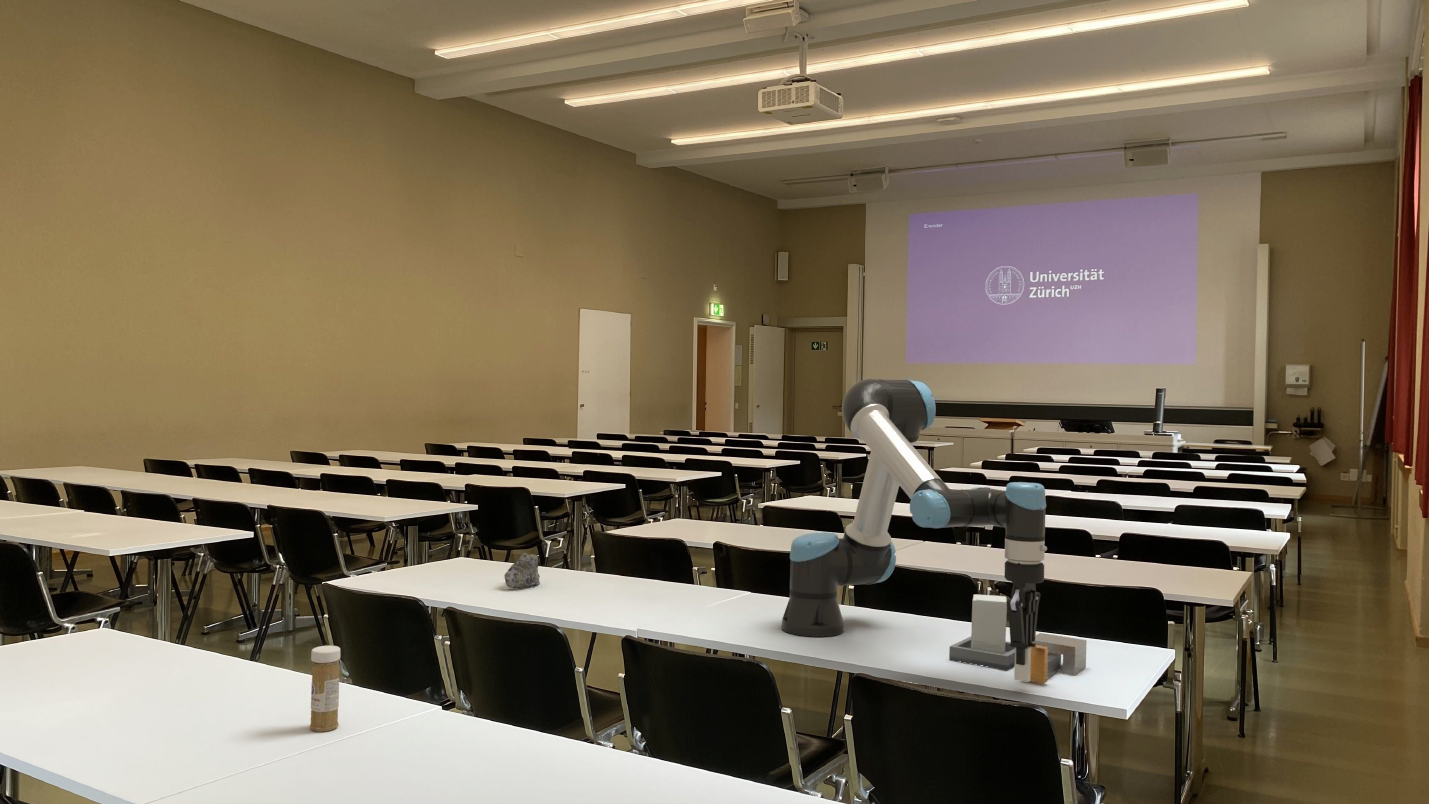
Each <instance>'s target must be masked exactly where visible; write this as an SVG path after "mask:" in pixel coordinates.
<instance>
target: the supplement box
mask: <svg viewBox="0 0 1429 804" xmlns="http://www.w3.org/2000/svg"><path fill="white" fill-rule="evenodd" d="M1007 600H1008V598H1007V596H1003V595H993V594H992V595H991V594H990V595H989V594H973V597H972V601H971V602H972V603H971V604H972V606H971V607H972V608H971V635H970V637H971V649H976V650H982V651H987V652H993V653H999V654H1005V643H1006V640H1007V639H1006V638H1007V611H1008V607H1007Z"/></svg>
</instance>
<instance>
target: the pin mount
mask: <svg viewBox="0 0 1429 804" xmlns="http://www.w3.org/2000/svg"><path fill="white" fill-rule="evenodd" d="M1087 642H1088V641H1087V639H1083V638H1081V639H1080V638H1074V637H1070V636H1069V637H1068V636H1061V635H1054V634H1050V633H1043V632H1039V633H1037V634H1036V635H1035V641H1034V642H1032V643H1035V644H1036V645H1039V646H1045V647H1048V652H1050V653H1056V654H1061V656H1062V674H1063V675H1067V676H1068V675H1069V676H1077V675H1078V674H1079V673H1081V672H1083V670H1085V669H1086V667H1087Z"/></svg>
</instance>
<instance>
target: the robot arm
mask: <svg viewBox="0 0 1429 804" xmlns="http://www.w3.org/2000/svg"><path fill="white" fill-rule="evenodd" d="M936 406H937V405H936V400H935V398H934V395H933V392H932V391H931V389H930V388H929V387H928V385H926V384H925V383H924V382H922V381H919V380H918V381H917V380H911V379H878V378H877V379H876V378H867V379H863V380H861V381H858V382H856V383H854V384H853V385H852V386H851V387H850V388H849V389H848V390H847V392H846V393H845V395H844V396H843V400H842V403H841V414H842V419H843V421H844V424H845V427H846V428H847V429H848V430H849V432H850V433H851V434H852V436H853V437H854V438H856V439H858V440H860V441H863V442H864V443H865V444H866V446H867V447H868V448H869V449H870V455H869V458H868V462H867V466H866V471H865V473H864V479H863V481H862V482H863V483H862V487H861V491H860V495H859V498H858V502H857V507H856V510H855V515H854V518H853V522H851V523H849V524H848V525H846V526H845V530H844V533H843V536H842V537H840V538H839V536H838V534H837V533H834V532H811V533H806V534H801V535H800V536H799V535H798V536H797V537H795V538H794V539H792V542H791V544H790V545H791V546H790V553H789V559H790V563H789V564H790V565H789V567H790V568H789V569H790V570H789V573H790V574H789V599H788V602H787V605H786V606H785V607H786V608H785V610H784V614H783V616H782V618H781V630H783V632H786V633H788V634H792V635H795V636H796V635H797V636H803V637H817V638H819V637H821V638H822V637H832V636H833V637H834V636H838V635H841V634H842V633H844V631H845V630H844V620H843V615H842V613H841V608H840V605H839V602H838V587H840V586H852V585H854V586H855V585H866V586H867V585H872V584H873V585H874V584H877V583H878V584H879V583H882V582H885V581H886V580H888V578H890V576H891V575H892V574H893V571H894V570H895V567H896V563H897V556H896V555H895V553H897V552H896V551H897V550H896V547H895V545H894V542H893V541H892V537H891V535H890V533H889V532H888V530H889V527H890V526H889V525H890V522H891V518H892V514H893V510H894V507H895V503H896V500H897V495H898V492H899V487H900V488H901V489H902V490H903V492H904V493H905V494H906V495H907V496H908V498H909V499H910V502H909V513H910V514H911V515H912V517H911V518H912V521H913V523H915V524H916V525H917V526H918V527H921V528H931V529H942V528H943V529H944V528H955V527H959V528H960V527H981V526H982V527H983V526H989V527H990V526H992V527H993V526H994V527H1000V528H1004V529H1005V535H1004V537H1005V538H1004V557H1005V559H1006V560H1005V562H1004V579H1005V580H1006V581H1008V582H1011V583H1012V589H1011V591H1010V598H1009V599H1008V598H1007V611H1008V623H1009V624H1008V626H1009V640H1010V641H1009V642H1011V644H1010V646H1011V647H1015V666H1014V671H1013V673H1014V677H1013V679H1014V680H1015V681H1020V682H1025V683H1029V682H1031V681H1030V673H1031V648H1030V647H1035V646H1036V644H1035V643H1032V642H1034V641H1035V636H1036V635H1037V634H1036V633H1037V623H1038V615H1039V614H1038V613H1039V612H1038V611H1039V603H1040V599H1041V593H1040V592H1037V590H1036V589H1037V587H1036V584H1041V583H1043V582H1044V581H1045V563H1043V561H1044V560H1045V552H1046V551H1047V550H1048V547H1047V546H1046V545H1045V540H1046V537H1045V535H1046V511H1047V510H1046V508H1047V501H1046V500H1047V499H1046V489H1045V487H1044V485H1042V484H1041V483H1037V482H1025V481H1023V482H1022V481H1018V482H1016V481H1014V482H1009V483H1007V484H1006V485H1005V487H1006V488H1005V489H1004V490H1001V489H996V488H995V489H994V488H991V487H987V486H986V487H978V486H977V487H973V488H971V489H951V488H949V487H948V485H947V484H946V483H945V482H944V481H943V480H942V479H941V477H940V476H939V475H938V474H937V473H936V472H935V470H934V469H933V468H932V466H930V464H929V463H928V462H927V461H926V460H925V459H924V458H923V456H922V455H921V454H920V452H919V451H918V450H917V449H916V448H915V447H914V444H916V443H917V442H918V440H919V438H920V433H921V431H925V430H927V429H929V428H930V427H931V426H932V425H933V424H934V422H935V419H936V411H937V410H936V408H937V407H936Z"/></svg>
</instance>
